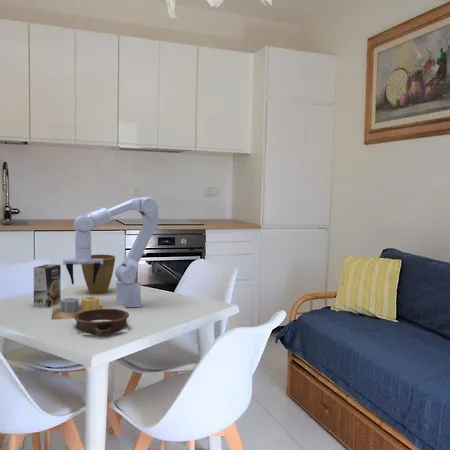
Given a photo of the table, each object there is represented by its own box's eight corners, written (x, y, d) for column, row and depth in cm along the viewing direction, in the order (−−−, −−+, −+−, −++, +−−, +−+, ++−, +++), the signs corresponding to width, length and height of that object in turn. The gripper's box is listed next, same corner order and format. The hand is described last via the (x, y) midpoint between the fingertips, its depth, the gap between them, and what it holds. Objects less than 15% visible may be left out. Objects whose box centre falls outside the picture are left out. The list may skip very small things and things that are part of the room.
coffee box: (48, 310, 181) (48, 268, 179) (33, 309, 182) (32, 267, 181) (61, 305, 190) (61, 264, 188) (46, 304, 191) (46, 263, 190)
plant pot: (82, 289, 220) (82, 254, 218) (115, 288, 222) (115, 254, 221) (78, 296, 205) (78, 259, 204) (114, 295, 208) (114, 258, 207)
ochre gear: (98, 306, 183) (98, 296, 183) (99, 310, 177) (99, 300, 177) (81, 307, 181) (81, 297, 181) (82, 311, 175) (82, 300, 175)
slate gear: (78, 308, 181) (78, 297, 180) (78, 312, 175) (78, 301, 174) (60, 309, 179) (60, 298, 178) (60, 313, 173) (60, 302, 173)
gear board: (102, 308, 185) (102, 294, 185) (105, 319, 170) (105, 303, 170) (52, 311, 180) (52, 296, 179) (51, 322, 164) (51, 306, 164)
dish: (123, 318, 172) (123, 305, 172) (134, 336, 152) (134, 321, 152) (71, 322, 166) (71, 308, 166) (76, 341, 146) (76, 325, 145)
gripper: (62, 249, 176) (63, 286, 177) (103, 248, 181) (103, 284, 182) (63, 247, 183) (63, 282, 184) (102, 246, 187) (102, 281, 188)
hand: (83, 283), depth 183 cm, fingers open, 7 cm apart
